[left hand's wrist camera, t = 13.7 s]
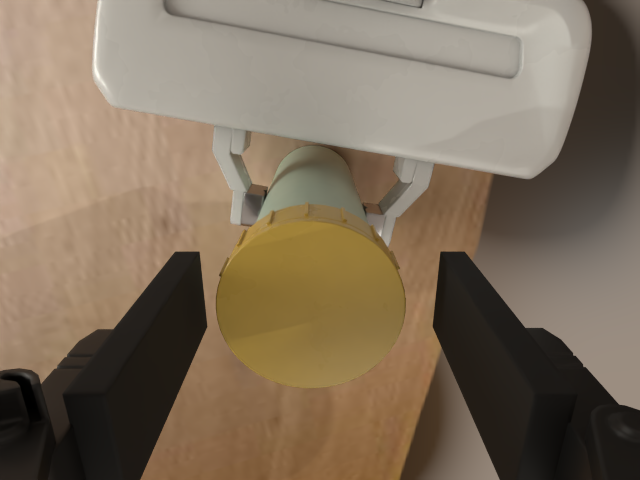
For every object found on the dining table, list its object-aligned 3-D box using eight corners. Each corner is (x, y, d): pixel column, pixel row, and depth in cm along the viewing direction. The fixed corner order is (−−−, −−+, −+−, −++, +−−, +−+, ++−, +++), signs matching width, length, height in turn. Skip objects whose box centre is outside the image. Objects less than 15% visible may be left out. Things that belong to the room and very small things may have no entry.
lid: (233, 189, 14) (222, 205, 12) (414, 216, 14) (427, 235, 12) (219, 346, 16) (208, 377, 14) (378, 366, 16) (385, 399, 14)
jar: (279, 139, 27) (238, 216, 13) (358, 152, 27) (407, 241, 13) (270, 215, 29) (224, 360, 14) (344, 226, 29) (373, 379, 15)
